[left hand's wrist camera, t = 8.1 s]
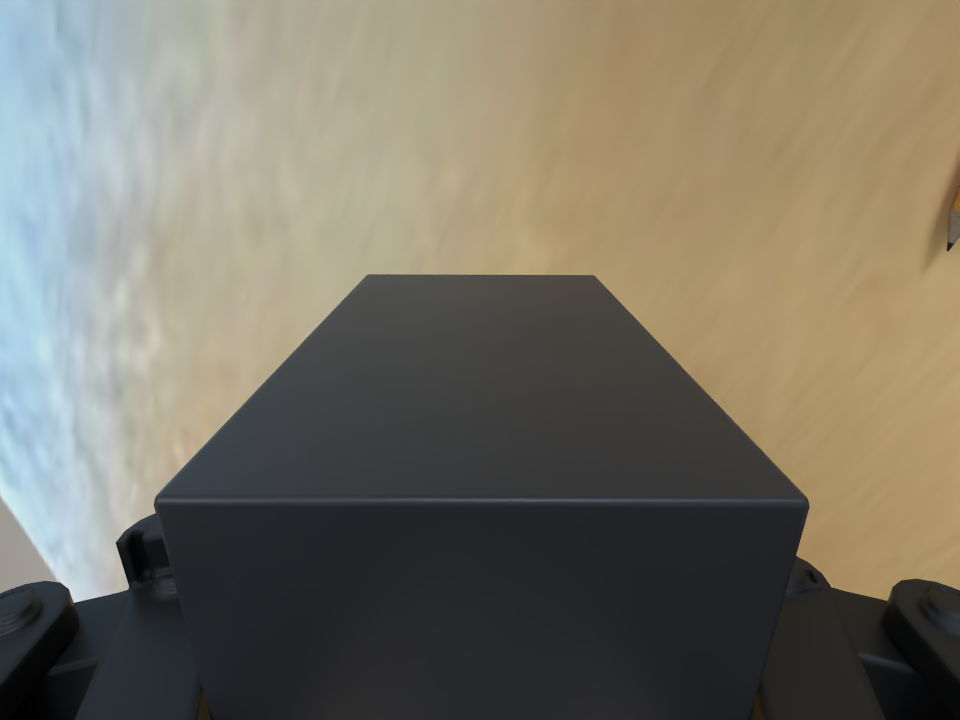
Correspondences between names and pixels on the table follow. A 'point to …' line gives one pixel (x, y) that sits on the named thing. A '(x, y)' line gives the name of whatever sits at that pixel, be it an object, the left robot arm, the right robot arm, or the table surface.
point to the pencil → (954, 221)
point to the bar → (480, 520)
